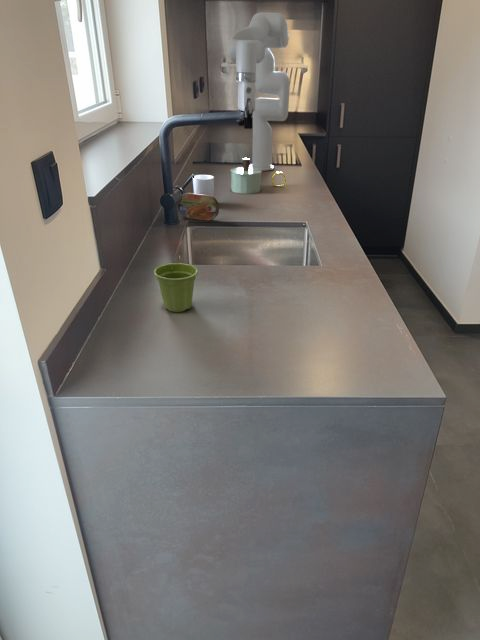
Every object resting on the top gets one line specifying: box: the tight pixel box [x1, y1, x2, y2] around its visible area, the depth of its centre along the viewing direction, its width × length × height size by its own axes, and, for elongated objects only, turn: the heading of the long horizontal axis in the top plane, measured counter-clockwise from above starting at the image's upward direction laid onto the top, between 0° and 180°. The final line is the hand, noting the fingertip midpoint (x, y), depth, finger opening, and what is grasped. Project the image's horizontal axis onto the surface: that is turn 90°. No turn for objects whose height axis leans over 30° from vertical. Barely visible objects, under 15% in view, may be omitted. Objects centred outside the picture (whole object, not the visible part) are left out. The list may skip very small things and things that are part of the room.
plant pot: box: [153, 262, 199, 313], centre depth 110 cm, size 9×9×9 cm
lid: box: [229, 157, 263, 175], centre depth 203 cm, size 13×13×6 cm
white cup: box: [192, 174, 215, 197], centre depth 185 cm, size 8×8×10 cm
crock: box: [230, 172, 262, 195], centre depth 206 cm, size 12×12×8 cm
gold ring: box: [271, 171, 287, 188], centre depth 215 cm, size 6×3×6 cm, turn 95°
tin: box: [176, 192, 220, 222], centre depth 169 cm, size 15×3×8 cm, turn 70°
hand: (245, 127), depth 197 cm, fingers open, 9 cm apart
